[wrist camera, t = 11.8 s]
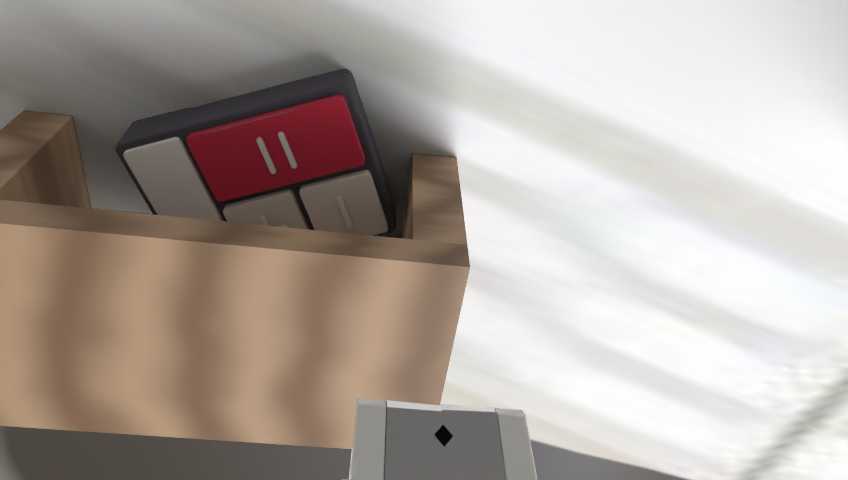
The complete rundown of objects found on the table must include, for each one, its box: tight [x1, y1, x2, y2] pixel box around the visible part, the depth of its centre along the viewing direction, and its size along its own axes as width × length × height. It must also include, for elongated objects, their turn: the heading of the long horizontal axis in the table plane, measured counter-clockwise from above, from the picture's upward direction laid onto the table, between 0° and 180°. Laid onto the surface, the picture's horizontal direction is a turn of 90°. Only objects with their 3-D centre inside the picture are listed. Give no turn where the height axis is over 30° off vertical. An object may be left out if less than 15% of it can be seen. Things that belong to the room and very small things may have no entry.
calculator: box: [116, 69, 396, 236], centre depth 43 cm, size 11×4×15 cm
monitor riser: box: [0, 111, 470, 449], centre depth 42 cm, size 28×16×12 cm, turn 83°
